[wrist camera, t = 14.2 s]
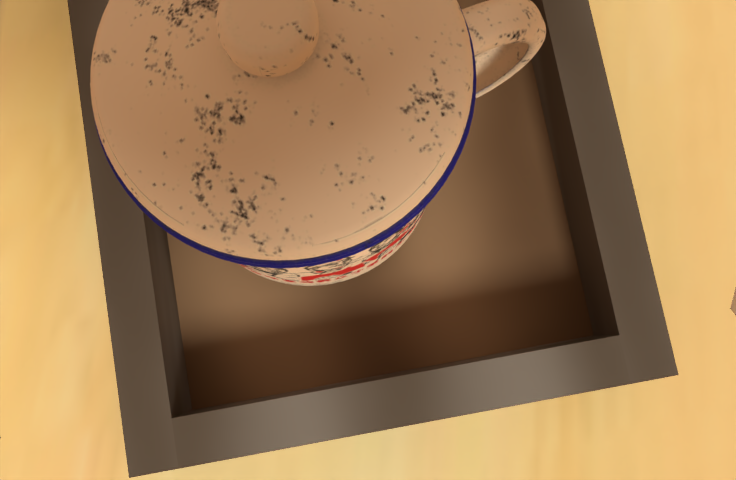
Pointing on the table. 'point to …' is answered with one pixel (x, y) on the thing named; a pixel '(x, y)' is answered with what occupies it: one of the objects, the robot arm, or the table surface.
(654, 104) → the table surface
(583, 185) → the tray
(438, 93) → the teacup with lid
